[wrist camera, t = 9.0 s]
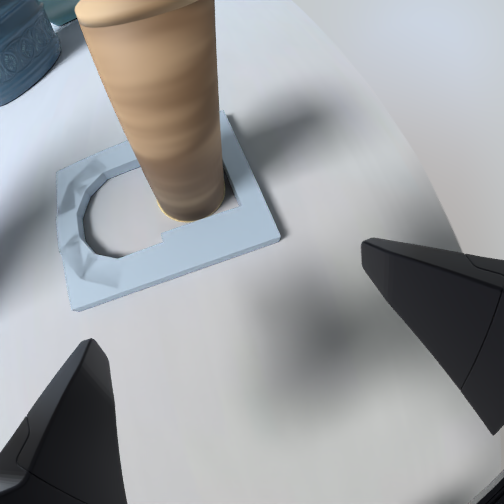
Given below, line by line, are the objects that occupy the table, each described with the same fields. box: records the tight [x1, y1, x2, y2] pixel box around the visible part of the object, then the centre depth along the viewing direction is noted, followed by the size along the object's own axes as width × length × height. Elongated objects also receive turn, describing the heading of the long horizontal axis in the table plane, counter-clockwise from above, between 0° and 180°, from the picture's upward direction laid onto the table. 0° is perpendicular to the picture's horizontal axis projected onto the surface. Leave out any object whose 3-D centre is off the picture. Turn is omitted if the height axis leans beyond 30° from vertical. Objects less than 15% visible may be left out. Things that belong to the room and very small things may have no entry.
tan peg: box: [75, 0, 224, 222], centre depth 13 cm, size 5×5×14 cm
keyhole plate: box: [56, 110, 281, 312], centre depth 19 cm, size 14×11×1 cm
